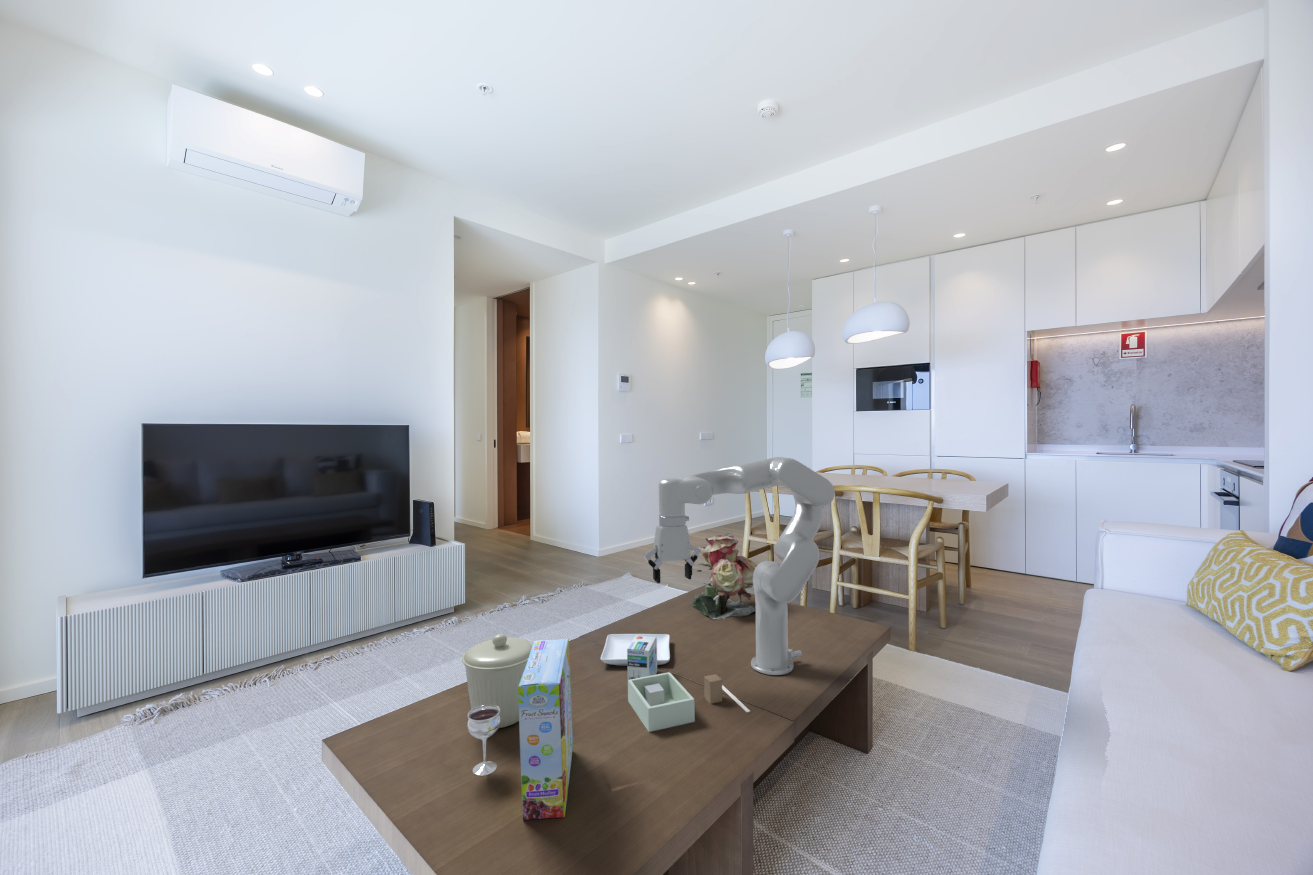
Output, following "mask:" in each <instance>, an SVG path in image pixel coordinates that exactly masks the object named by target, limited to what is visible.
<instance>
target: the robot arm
mask: <svg viewBox="0 0 1313 875" xmlns="http://www.w3.org/2000/svg"><path fill="white" fill-rule="evenodd" d="M778 486H779V487H780V486H781V487H784V488H786V489H788V490H790V491H791V493H792V496H793V500H794V504H795V509H794V511H793V515H792V517H791V519H790V520H789V522H788V524H787V525H786V527H785V528H784V530H783V532H782V533H781V534H780V536H779V537H778V539H777V540H776V543H775V545H774V553H775V555H776V557H777V558H778V559H779V560H780V561H781V562H780V564H779V563H777V562H776V561H772V560H765V561H761V562H759V563H758V564H756V565H757V566H756V567H755V570H754V573H753V586H752V588H753V591H754V592H753V594H754V602H755V603H754V604H755V605H754V606H755V608H756V611H755V656H754V657H752V659H751V661H750V666H751V667H752V669H753V670H754V671H756V672H759V673H761V674H763V675H769V676H782V675H787V674H790V673H791V672H793V670H794V662H793V660H794V659H797V658H798V659H799V658H801V657H803V656H802V655H803V653H802V651H801V650H800V649H799V650H793V648H789V637H788V636H789V633H788V632H789V629H788V628H789V627H788V626H789V625H788V622H789V621H788V620H789V618H788V616H789V614H788V613H789V611H788V608H789V607H788V603H790V602H793V601H794V600H795V599H796V598H797V597H798V596H799V594H800V593H801V592H802V590H804V589H803V588H805V585H806V584H807V583H808V581H809V579H810V578H811V576H812V575H813V573H814V571H815V569H816V568H817V567H818V564H819V561H820V548H819V546H818V545H817V543H816V542H815V541H814V538H815V537H816V535H817V533H818V531H819V530H820V528H821V525H822V522H823V521H822V520H823V508H824V507H826V506H829V505H831V503H832V502H833V501H834V500H835V496H836V492H835V491H836V490H835V487H834V485H833V484H832V482H831V481H830V480H829V479H827V478H826V477H824V476H822V475H821V474H819V473H817V472H816V471H815V470H813V469H811V468H810V467H808V466H807V465H805V464H803V463H802V462H800V461H798V460H797V459H794V458H792V457H783V456H775V457H770V458H766V459H762V460H758V461H753V462H749V463H748V462H747V463H745V464H740V465H734V466H730V467H725V468H721V469H715V470H709V471H705V472H700V473H696V474H692V475H689V476H687V477H685V478H684V479H680V478H664V479H661V480H660V481H659V482H658V521H659V522H658V524H659V525H657V526H655V527H656V528H655V533H654V542H653V548H651V549H650V550H647V551H646V552H645V553H644V554H643V558H644V559H645V560H646V563H647V564H648V565H649V566H650V567H651V568H652V578H653V580H654V582H655V583H657V584H660V583H661V569H660V567H661V565H662V564H663V563H669V562H679V561H681V562H682V561H684V562H685V564H684V578H686V579H687V580H692V576H693V566H694V564H695V562H696V561H697V560H698V556H699V555H700V553H701V552H700V549H699V547H697V546H694V545H692V544H691V539H690V533H689V529H688V525H687V522H689V521H690V517H689V516H688V515H687V516H686V507H685V506H686V505H685V504H690V505H691V504H692V505H704V504H707V503H709V501H710V500H711V499H712V498H713V495H721V494H733V495H734V494H735V495H740V494H741V495H743V494H744V495H745V494H749V493H753V492H756V491H760V490H766V489H769V488H774V487H778ZM691 551H693V553H692V554H691ZM652 556H653V558H654V560H653V559H652Z"/></svg>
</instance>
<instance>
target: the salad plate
mask: <svg viewBox="0 0 1313 875" xmlns="http://www.w3.org/2000/svg"><path fill="white" fill-rule="evenodd" d="M635 636H646V637H656V638H657V666H660V665H661V666H662V665H665V664H667V663H669V662H670V659H671V653H670V638H671V636H670V634H667V633H619V634H618V633H612V634H607V636H606V640H605V644H604V647H603V650H602V653H601V655H600V661H601V662H602V663H605V664H607V665H611V666H613V665H614V666H627V649H628V647H629V645H630V644H631V642H632V641H633V639H634V638H635Z"/></svg>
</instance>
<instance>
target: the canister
mask: <svg viewBox="0 0 1313 875" xmlns="http://www.w3.org/2000/svg"><path fill="white" fill-rule="evenodd" d="M532 646H533V642H531V641H528V640H526V639H524V638H520V637H510V636H509V637H508V636H507V635H505V634H504V633H498V634H495V635H494V636H493V638H491V639H487V640H484V641H482V642H479V643H477V644H475V645H473V646H471V648H469V649H468V650H466V651H465V652H464V653H463V655H462V657H461V662H462V664H463V666H464V668H465V676H466V683H467V690H468V696H469V703H470V711H471V710H472V709H474V708H476V707H479V706H483V705H495V706H497V707H499V708H500V712H499V716H500V719H501V720H500V725H499V728H498V729H502V728H506V727H510V726H513V725H515V724H516V723H519V705H518V686H519V684H520V681H521V678H522V675H523V672H524V670H525V667H526V664H527V661H528V658H529V655H530V652H531V649H532Z"/></svg>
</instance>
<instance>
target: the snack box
mask: <svg viewBox="0 0 1313 875" xmlns="http://www.w3.org/2000/svg"><path fill="white" fill-rule="evenodd" d="M532 643H533V646H532V649H531V652H530V655H529V658H528V661H527V664H526V667H525V670H524V672H523V675H522V678H521V681H520V684H519V686H518V705H519V721H518V726H519V727H518V728H519V756H520V759H519V760H520V782H521V808H522V810H521V811H522V812H521V813H522V820H523V821H530V820H542V819H552V818H553V819H555V818H565V817H566V809H567V802H568V793H569V784H570V776H571V769H572V768H571V767H572V760H573V759H572V758H573V750H574V735H573V734H574V733H573V710H572V709H573V708H572V690H571V688H572V686H571V662H570V661H571V660H570V656H571V655H570V639H569V638H559V639H540V640H533V642H532Z"/></svg>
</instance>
